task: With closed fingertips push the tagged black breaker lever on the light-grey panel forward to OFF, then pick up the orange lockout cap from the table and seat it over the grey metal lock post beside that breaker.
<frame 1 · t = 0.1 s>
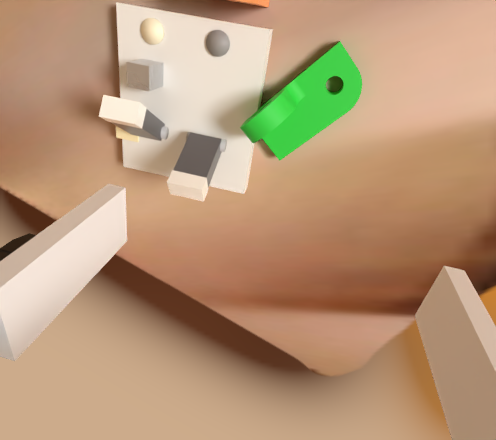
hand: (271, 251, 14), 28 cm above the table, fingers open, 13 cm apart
mechanical part: (307, 102, 38), on the table
lever plain: (197, 163, 37), point 6 cm above the table, hinge at 30.0°
lock post: (160, 70, 39), resting on panel
lever tagged: (136, 121, 36), point 6 cm above the table, hinge at -30.0°
panel: (192, 104, 40), on the table
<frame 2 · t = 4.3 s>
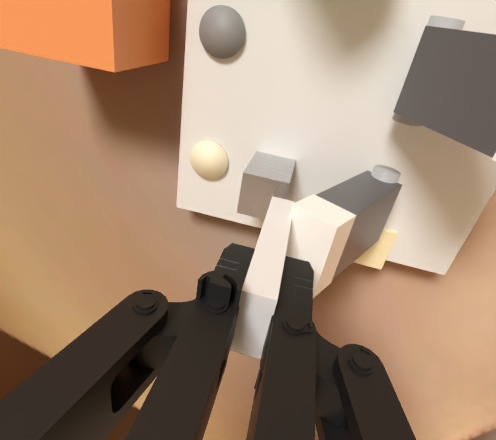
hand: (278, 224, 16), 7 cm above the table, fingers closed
lever plain: (484, 90, 13), point 6 cm above the table, hinge at 30.0°
lock post: (277, 162, 23), resting on panel
lever tagged: (346, 224, 17), point 6 cm above the table, hinge at -29.4°, touching gripper
panel: (340, 111, 20), on the table
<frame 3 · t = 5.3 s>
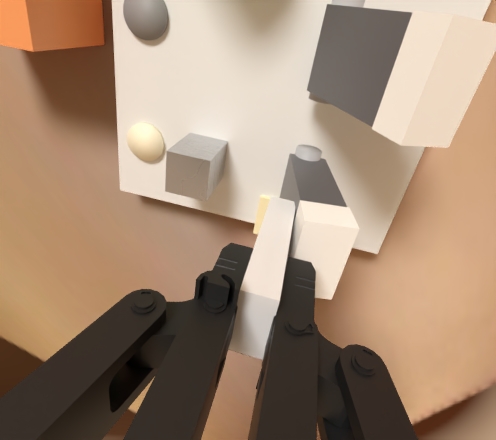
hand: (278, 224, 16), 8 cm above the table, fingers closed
lever plain: (375, 65, 14), point 6 cm above the table, hinge at 30.0°
lock post: (216, 145, 23), resting on panel
lever tagged: (306, 213, 17), point 6 cm above the table, hinge at 11.0°, touching gripper
panel: (270, 93, 21), on the table
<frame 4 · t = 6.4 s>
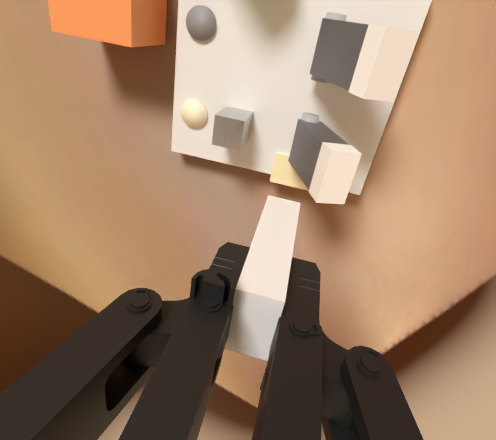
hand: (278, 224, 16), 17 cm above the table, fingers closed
lever plain: (351, 55, 22), point 6 cm above the table, hinge at 30.0°
lock post: (243, 117, 32), resting on panel
lever tagged: (317, 156, 26), point 6 cm above the table, hinge at 22.5°
panel: (283, 78, 29), on the table
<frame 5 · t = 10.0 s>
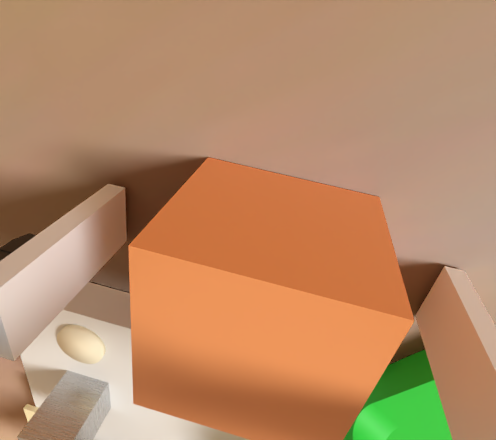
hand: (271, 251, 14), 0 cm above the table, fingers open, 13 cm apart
lockout cap: (274, 246, 14), on the table
mechanical part: (393, 399, 18), on the table, touching panel
lock post: (109, 359, 21), resting on panel
panel: (170, 406, 22), on the table
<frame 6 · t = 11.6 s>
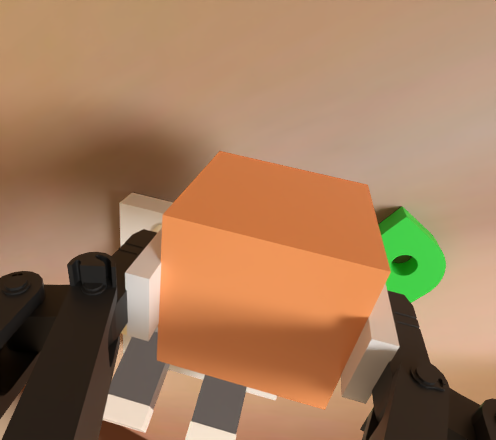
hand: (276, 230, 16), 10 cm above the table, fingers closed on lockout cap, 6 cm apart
lockout cap: (276, 230, 16), point 9 cm above the table, touching gripper
mechanical part: (363, 273, 28), on the table, touching panel
lever plain: (222, 396, 29), point 6 cm above the table, hinge at 30.0°
lever tagged: (142, 372, 29), point 6 cm above the table, hinge at 22.8°
panel: (213, 298, 32), on the table
when the fingers open (3 cm above the table, at t = 15.5 s): lockout cap stays where it is, resting on panel.
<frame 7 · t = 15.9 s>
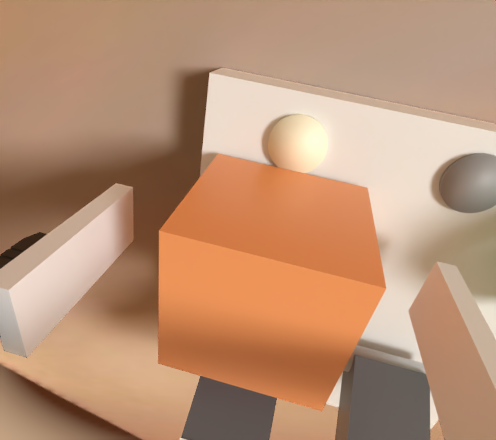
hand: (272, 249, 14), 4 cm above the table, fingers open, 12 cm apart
lockout cap: (276, 231, 16), point 2 cm above the table, touching panel
lever plain: (380, 438, 16), point 6 cm above the table, hinge at 30.0°
lever tagged: (236, 395, 16), point 6 cm above the table, hinge at 22.8°
panel: (341, 269, 19), on the table
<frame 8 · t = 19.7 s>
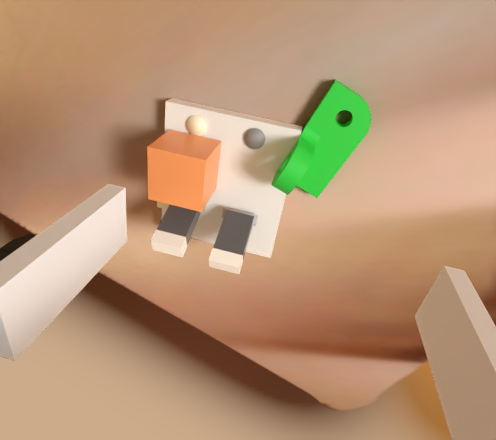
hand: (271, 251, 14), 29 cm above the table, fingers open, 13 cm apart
lockout cap: (193, 159, 42), point 2 cm above the table, touching panel
mechanical part: (325, 139, 41), on the table, touching panel
lever plain: (233, 238, 42), point 6 cm above the table, hinge at 30.0°
lever tagged: (178, 223, 42), point 6 cm above the table, hinge at 22.8°
panel: (226, 180, 45), on the table
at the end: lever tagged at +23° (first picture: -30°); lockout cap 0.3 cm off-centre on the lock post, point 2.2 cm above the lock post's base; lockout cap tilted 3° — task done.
